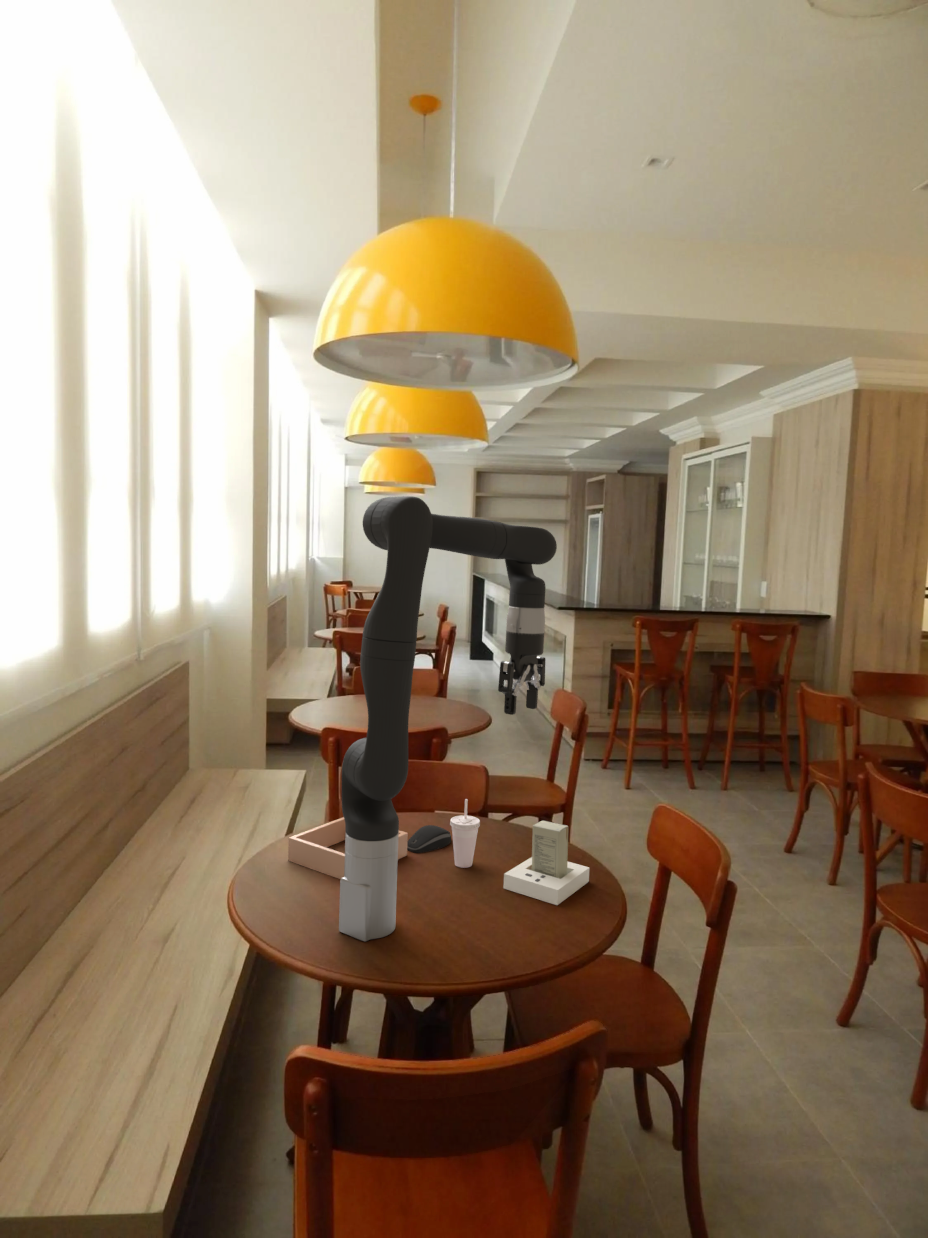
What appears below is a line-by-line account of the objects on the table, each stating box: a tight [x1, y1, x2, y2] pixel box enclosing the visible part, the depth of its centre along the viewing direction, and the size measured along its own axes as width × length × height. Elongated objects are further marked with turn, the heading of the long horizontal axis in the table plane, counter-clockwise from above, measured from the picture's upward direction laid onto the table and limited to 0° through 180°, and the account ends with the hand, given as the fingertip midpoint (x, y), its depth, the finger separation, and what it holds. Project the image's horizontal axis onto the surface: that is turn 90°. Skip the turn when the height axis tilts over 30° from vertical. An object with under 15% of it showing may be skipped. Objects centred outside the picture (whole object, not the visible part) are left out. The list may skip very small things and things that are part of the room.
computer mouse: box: [407, 824, 452, 854], centre depth 180 cm, size 7×12×4 cm, turn 138°
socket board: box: [502, 856, 590, 906], centre depth 160 cm, size 14×12×4 cm
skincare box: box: [531, 820, 569, 879], centre depth 160 cm, size 6×4×12 cm
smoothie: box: [449, 798, 481, 869], centre depth 168 cm, size 6×6×14 cm
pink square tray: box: [287, 816, 409, 880], centre depth 170 cm, size 18×17×5 cm
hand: (520, 711), depth 157 cm, fingers open, 8 cm apart
